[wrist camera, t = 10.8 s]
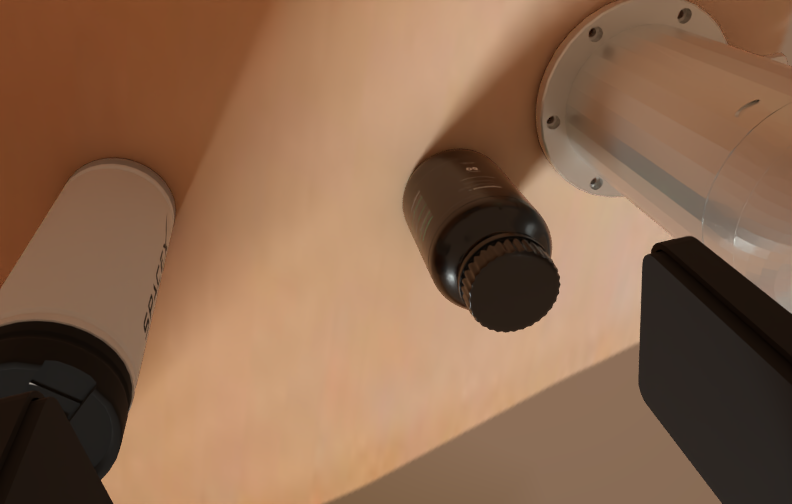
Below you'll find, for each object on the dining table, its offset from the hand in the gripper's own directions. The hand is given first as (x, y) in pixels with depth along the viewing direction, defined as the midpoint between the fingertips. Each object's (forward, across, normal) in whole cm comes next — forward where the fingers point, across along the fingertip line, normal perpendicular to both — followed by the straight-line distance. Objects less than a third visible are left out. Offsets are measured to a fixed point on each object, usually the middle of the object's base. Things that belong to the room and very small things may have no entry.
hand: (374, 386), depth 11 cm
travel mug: (+31, +12, +8) cm, 34 cm away
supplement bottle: (+31, -8, +12) cm, 34 cm away
